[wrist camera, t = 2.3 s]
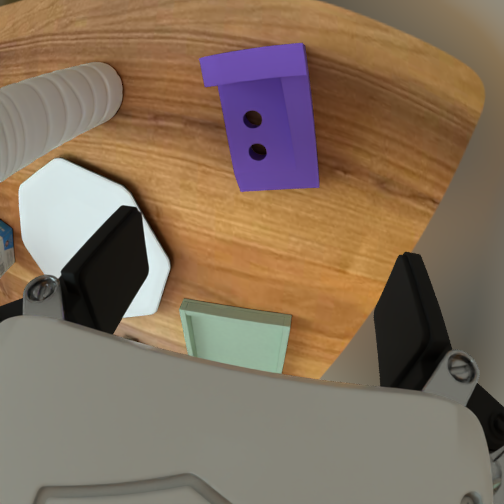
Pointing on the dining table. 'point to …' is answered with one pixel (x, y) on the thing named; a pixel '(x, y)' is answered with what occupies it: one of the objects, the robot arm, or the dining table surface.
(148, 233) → the plate
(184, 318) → the shallow tray
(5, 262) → the ink box
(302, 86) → the bracket
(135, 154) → the dining table surface
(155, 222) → the dining table surface
